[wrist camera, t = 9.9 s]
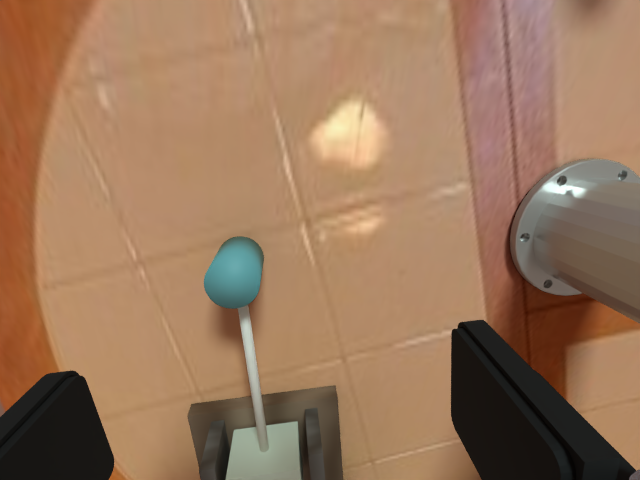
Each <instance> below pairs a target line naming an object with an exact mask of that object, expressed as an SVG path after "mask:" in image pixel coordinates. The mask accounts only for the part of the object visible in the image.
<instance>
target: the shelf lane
mask: <svg viewBox="0 0 640 480" xmlns="http://www.w3.org/2000/svg"><path fill="white" fill-rule="evenodd" d="M262 402H263V409H264V416H265V422H266V425H274V424H281V423H288V422H296V421H298V430H299V439H300V448H301V456H302V465H303V479H304V480H343V471H342V457H341V442H340V427H339V412H338V398H337V392H336V387H335V386H328V387H320V388H312V389H305V390H297V391H289V392H281V393H274V394H266V395H262ZM188 421H189V425H190V429H191V434H192V438H193V442H194V447H195V451H196V455H197V460H198V464H199V473H200V478H201V480H226V474H227V468H228V462H229V456H230V450H231V444H232V438H233V432H234V430H236V429H244V428H251V427H256V421H255V414H254V408H253V402H252V396H250V397H242V398H235V399H227V400H219V401H211V402H204V403H196V404H191V407H190V410H189V413H188Z"/></svg>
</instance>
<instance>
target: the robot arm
mask: <svg viewBox="0 0 640 480" xmlns="http://www.w3.org/2000/svg"><path fill="white" fill-rule="evenodd" d="M510 251H511V255H512V259H513V262H514V264H515V266H516V268H517V270H518V272H519V273H520V274H521V275H522V277H523V278H524V279H525V280H526V281H528V282H529V283H530V284H532V285H533V286H535V287H537V288H538V289H540V290H542V291H544V292H547V293H550V294H554V295H563V296H569V295H578V294H582V293H584V294H586V295H587V296H589V297H591V298H593V299H595V300H597V301H599V302H601V303H602V304H604V305H606V306H608V307H610V308H612V309H614V310H615V311H617V312H619V313H621V314H623V315H625V316H627V317H628V318H630V319H632V320H634V321H636V322H638V323H640V178H639V176H638V175H637V174H636V173H635V172H633V171H632V170H631V169H630V168H629V167H627V166H625V165H623V164H621V163H619V162H615V161H611V160H605V159H582V160H577V161H574V162H570V163H567V164H565V165H563V166H561V167H559V168H557V169H554V170H553V171H551V172H550V173H549V174H547V175H546V176H544V177H543V178H542V179H541V180H540V181H539V182H538V183H537V184H536V185H535V186H534V187H533V188H532V189H531V190H530V191H529V193H528V194H527V195H526V197H525V198H524V199H523V201H522V203H521V205H520V206H519V208H518V210H517V212H516V215H515V218H514V221H513V224H512V228H511V235H510ZM451 417H452V421H453V425H454V427H455V430H456V432H457V434H458V435H459V437H460V439H461V441H462V443H463V445H464V447H465V449H466V451H467V452H468V454H469V456H470V458H471V460H472V462H473V464H474V466H475V468H476V469H477V471H478V473H479V475H480V477H481V479H482V480H640V470H637V471H636V470H635V469H634V468H633V467H632V466H631V465H630V464H629V463H628V462H627V461H626V460H625V459H624V458H623V457H622V456H621V455H620V454H619V453H618V452H617V451H616V450H615V449H614V448H613V447H612V446H611V445H610V444H609V443H608V442H607V441H606V440H605V439H604V438H603V437H602V436H601V435H600V434H599V433H598V432H597V431H596V430H595V429H594V428H593V427H592V426H591V425H590V424H589V423H588V422H587V421H586V420H585V419H584V418H583V417H582V416H581V415H580V414H579V413H578V412H577V411H576V410H575V409H574V408H573V407H572V406H571V405H570V404H569V403H568V402H567V401H566V400H565V399H564V398H563V397H562V396H561V395H560V394H559V393H558V392H557V391H556V390H555V389H554V388H553V387H552V386H551V385H550V384H549V383H548V382H547V381H546V380H545V379H544V378H543V377H542V376H541V375H540V374H539V373H537V372H536V371H535V370H533V369H532V368H531V367H530V366H529V365H528V364H527V363H526V362H525V361H524V360H523V359H522V358H521V357H520V356H519V355H518V354H517V353H516V352H515V351H514V350H513V349H512V348H511V347H510V346H509V345H508V344H507V343H506V342H505V341H504V340H503V339H502V338H501V337H500V336H499V335H498V334H497V333H496V332H495V331H494V330H493V329H492V328H491V327H490V326H489V325H488V324H487V323H486V322H485V321H484V320H476V321H468V322H460V323H459V325H458V329H453V330H452V348H451ZM113 468H114V457H113V454H112V451H111V448H110V445H109V443H108V440H107V437H106V434H105V432H104V429H103V426H102V423H101V421H100V418H99V415H98V412H97V409H96V407H95V404H94V401H93V398H92V396H91V393H90V390H89V387H88V385H87V382H86V380H85V378H84V377H83V376H79V374H78V373H77V372H76V371H65V372H57V373H50V374H46V375H45V376H43V377H42V378H41V379H40V380H39V381H38V382H37V383H36V384H35V385H34V386H33V387H32V388H31V389H29V390H28V391H27V392H26V393H25V394H24V395H23V396H22V397H21V398H20V399H19V400H18V401H17V402H16V403H15V404H14V405H13V406H12V407H10V408H9V409H8V410H7V411H6V412H5V413H4V414H3V415H2V416H1V417H0V480H109V478H110V476H111V474H112V471H113Z"/></svg>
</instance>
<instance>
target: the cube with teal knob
mask: <svg viewBox="0 0 640 480" xmlns="http://www.w3.org/2000/svg"><path fill="white" fill-rule="evenodd" d="M263 262H264V255H263V251H262V249H261V247H260V246H259V245H258V244H257V243H256V242H255V241H254V240H252V239H250V238H247V237H233V238H231V239H228V240H227V241H225V242H224V243H223V244H222V246H221V247H220V249H219V251H218V253H217V254H216V256H215V258H214V260H213V262H212V263H211V265H210V267H209V269H208V271H207V273H206V275H205V278H204V287H205V291H206V293H207V295H208V296H209V298H210V299H211V300H212V301H213V302H214V303H216V304H217V305H219V306H222V307H225V308H232V309H233V308H238V313H239V319H240V326H241V332H242V338H243V345H244V351H245V357H246V364H247V370H248V376H249V383H250V389H251V395H252V402H253V408H254V414H255V421H256V427H251V428H244V429H236V430H234V432H233V438H232V444H231V450H230V456H229V462H228V468H227V474H226V480H304V479H303V465H302V456H301V448H300V439H299V430H298V421H296V422H288V423H281V424H274V425H266V422H265V416H264V409H263V402H262V395H261V388H260V382H259V375H258V368H257V361H256V354H255V348H254V341H253V334H252V327H251V320H250V314H249V307H248V304H249V303H251V302H252V301H253V300H254V299H255V297H256V296H257V294H258V291H259V287H260V281H261V275H262V268H263Z"/></svg>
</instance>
